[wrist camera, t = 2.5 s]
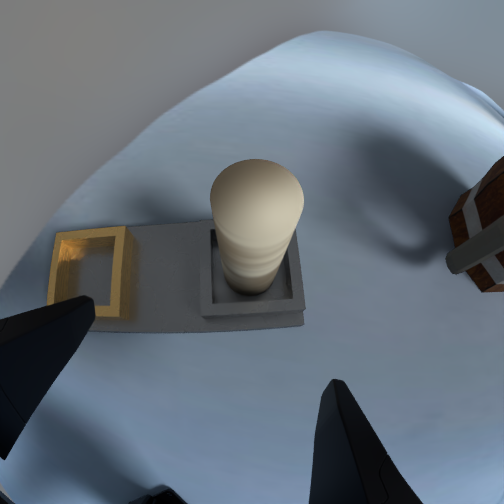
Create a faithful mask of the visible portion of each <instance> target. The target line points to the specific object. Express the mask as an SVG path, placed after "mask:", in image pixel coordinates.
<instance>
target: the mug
mask: <svg viewBox="0 0 504 504" xmlns="http://www.w3.org/2000/svg"><path fill="white" fill-rule="evenodd" d="M448 218H449V222H450V226H451V230H452V235H453V240H454V244H455V249H453V250H452V251H450V252H449V253H448V254H447V256H446V258H445V259H446V263H447V267H448V268H449V270H450V271H451V273H452V274H456V275H457V274H459V273H462V272H464V271H466V272H467V273H468V274H469V276H470V277H471V278H472V280H473V281H474V282H475V284H476V285H477V286H478V288H479V289H480V290H481V292H504V156H503V157H502V158H501V159H499V160H498V161H497V162H496V163H495V164H494V165H493V166H492V167H491V169H490V170H489V171H488V172H487V174H486V175H485V176H484V177H483V178H482V179H481V180H480V181H479V182H478V183H477V184H476V185H475V186H474V187H473V188H471V189H470V190H468V191H467V192H465V193H464V194H462V195H461V196H460V198H459V200H458V202H457V203H456V205H455V207H454V209H453V211H452V212H451V214H450V216H449V217H448Z"/></svg>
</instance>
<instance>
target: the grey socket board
mask: <svg viewBox="0 0 504 504" xmlns="http://www.w3.org/2000/svg"><path fill="white" fill-rule="evenodd" d="M82 295H87V296H89V297H91V298H92V299H93V300H94V304H95V313H96V317H95V320H94V322H93V324H92V325H91V327H90V329H89V330H88V331H93V332H115V333H206V332H230V331H248V330H262V329H275V328H287V327H297V326H302V325H304V317H303V311H304V310H305V309H306V308H305V299H304V290H303V282H302V274H301V266H300V258H299V251H298V243H297V236H296V229H295V230H294V232H293V235H292V237H291V240H290V242H289V245H288V247H287V249H286V252H285V254H284V257H283V259H282V261H281V264H280V266H279V269H278V271H277V273H276V276H275V278H274V280H273V283H272V284H271V286H270V287H269V288H268V289H267V290H266V291H265V292H263V293H261V294H259V295H256V296H244V295H240V294H238V293H236V292H235V291H233V290H232V289H231V288H230V287H229V286H228V284H227V282H226V280H225V277H224V272H223V267H222V262H221V257H220V252H219V246H218V241H217V236H216V230H215V225H214V220H200V222H189V223H174V224H160V225H146V226H134V227H126V226H118V227H107V228H96V229H86V230H77V231H67V232H58V233H56V238H55V243H54V249H53V255H52V262H51V269H50V276H49V285H48V296H47V306H48V305H51V304H54V303H58V302H61V301H65V300H68V299H71V298H75V297H78V296H82Z"/></svg>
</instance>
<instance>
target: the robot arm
mask: <svg viewBox="0 0 504 504" xmlns="http://www.w3.org/2000/svg"><path fill="white" fill-rule="evenodd" d="M95 317H96V313H95V304H94V300H93V299H92V298H91V297H89V296H87V295H82V296H78V297H75V298H71V299H68V300H65V301H61V302H58V303H54V304H51V305H48V306H44V307H41V308H37V309H34V310H31V311H27V312H24V313H21V314H17V315H14V316H10V317H9V318H8V317H7V318H4V319H0V457H1V458H2V459H3V460H5V459H6V458H7V456H8V454H9V452H10V451H11V449H12V447H13V445H14V444H15V442H16V440H17V439H18V437H19V435H20V434H21V432H22V430H23V429H24V427H25V425H26V423H27V422H28V420H29V419H30V417H31V415H32V414H33V412H34V411H35V409H36V408H37V406H38V405H39V403H40V402H41V400H42V399H43V397H44V396H45V394H46V393H47V391H48V390H49V388H50V387H51V385H52V384H53V382H54V381H55V380H56V378H57V377H58V375H59V374H60V372H61V371H62V370H63V368H64V367H65V365H66V364H67V363H68V361H69V360H70V359H71V357H72V356H73V354H74V353H75V352H76V350H77V349H78V347H79V346H80V344H81V342H82V340H83V339H84V337H85V335H86V334H87V332H88V330H89V329H90V327H91V325H92V324H93V322H94V320H95ZM167 493H170V494H171V495H172V496H169V495H168V494H167ZM0 504H15V503H13V502H12V501H11V500H10V499H9V498H8V497H7V496H6V495H4V494H3V493H2V492H1V491H0ZM128 504H187V503H186V502H185V501H184V500H183V499H182V498H181V497H180V496H178V495H177V494H176V493H175V492H174V491H173V490H171V489H167V490H164V491H162V492H160V493H158V494H156V495H154V496H151V495H146V496H143V497H141V498H139V499H136V500H134V501H132V502H129V503H128ZM309 504H423V503H422V502H421V500H420V499H419V498H418V497H417V495H416V494H415V493H414V491H413V490H412V489H411V487H410V486H409V485H408V483H407V482H406V481H405V479H404V478H403V477H402V475H401V474H400V472H399V471H398V469H397V468H396V466H395V464H394V463H393V461H392V460H391V458H390V456H389V455H387V451H386V450H385V448H384V446H383V445H382V443H381V441H380V440H379V438H378V436H377V435H376V433H375V431H374V430H373V428H372V426H371V425H370V423H369V421H368V420H367V418H366V416H365V415H364V413H363V411H362V410H361V408H360V406H359V405H358V403H357V402H356V400H355V398H354V397H353V395H352V393H351V392H350V390H349V388H348V387H347V385H346V383H345V382H344V381H343V380H338V379H332V380H331V381H330V383H329V384H328V386H327V387H326V389H325V390H324V392H323V394H322V396H321V401H320V408H319V413H318V419H317V425H316V430H315V438H314V453H313V465H312V477H311V487H310V497H309Z"/></svg>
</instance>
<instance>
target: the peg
mask: <svg viewBox="0 0 504 504" xmlns="http://www.w3.org/2000/svg"><path fill="white" fill-rule="evenodd" d="M210 202H211V208H212V214H213V219H214V225H215V230H216V236H217V241H218V246H219V252H220V257H221V262H222V267H223V272H224V277H225V280H226V282H227V284H228V286H229V287H230V288H231V289H232V290H233V291H235V292H236V293H238V294H240V295H244V296H256V295H259V294H261V293H263V292H265V291H266V290H267V289H268V288H269V287H270V286H271V284H272V283H273V280H274V278H275V276H276V273H277V271H278V269H279V266H280V264H281V261H282V259H283V257H284V254H285V252H286V249H287V247H288V245H289V242H290V240H291V237H292V235H293V232H294V230H295V228H296V225H297V223H298V220H299V218H300V215H301V213H302V209H303V204H304V196H303V191H302V188H301V186H300V184H299V182H298V180H297V179H296V177H295V176H294V175H293V174H292V173H291V172H290V171H288V170H287V169H286V168H284V167H283V166H281V165H279V164H277V163H274V162H271V161H268V160H262V159H249V160H244V161H240V162H237V163H234V164H232V165H230V166H229V167H227V168H226V169H224V170H223V171H222V172H221V173H220V174H219V175H218V176H217V178H216V179H215V181H214V183H213V185H212V188H211V193H210Z"/></svg>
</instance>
